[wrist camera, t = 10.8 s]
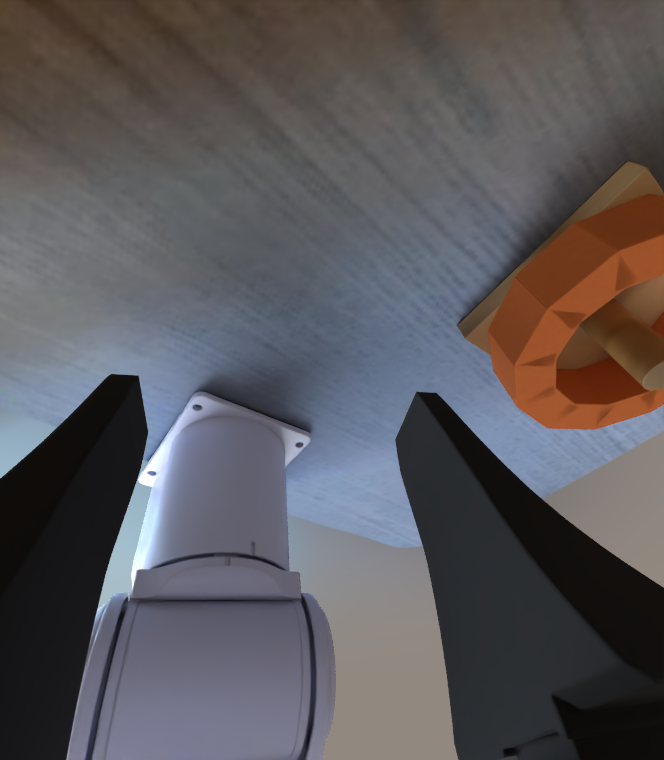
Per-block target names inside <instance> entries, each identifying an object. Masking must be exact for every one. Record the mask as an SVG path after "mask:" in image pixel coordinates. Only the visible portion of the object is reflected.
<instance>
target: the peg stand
mask: <svg viewBox="0 0 664 760" xmlns="http://www.w3.org/2000/svg"><path fill="white" fill-rule="evenodd" d="M648 194H653V195H659V196H664V191H663V190H662V188H661V187H660V185H659V184H658V183H657V181H656V180H655V178H654V177H653V175H652V174H651V172H650V171H649V169H648V168H647V167H644V166H642V165H639V164H636V163H633V162H631V161H627V162H626V163H625V164H624V165H623V166H622V167H621V168H620V169H619V170H618V171H617V172H616V173H615V174H614V175H613V176H612V177H611V178H610V179H608V180H607V181H606V182H605V183H604V184H603V185H602V186H601V187H600V188H599V189H598V190H597V191H596V192H595V193H594V194H593V195H592V196H591V197H590V198H589V199H588V200H587V201H586V202H585V203H584V204H583V205H582V206H581V207H579V208H578V209H577V210H576V211H575V212H574V213H573V214H572V215H571V216H570V217H569V218H568V219H567V220H566V221H565V222H564V223H563V224H562V225H561V226H560V227H559V228H558V229H557V230H556V231H555V232H554V233H553V234H552V235H551V236H549V237H548V238H547V239H546V240H545V241H544V242H543V243H542V244H541V245H540V246H539V247H538V248H537V249H536V250H535V251H534V252H533V253H532V254H531V255H530V256H529V257H528V258H527V259H526V260H525V261H524V262H523V263H522V264H521V265H519V266H518V267H517V268H516V269H515V270H514V271H513V272H512V273H511V274H510V275H509V276H508V277H507V278H506V279H505V280H504V281H503V282H502V283H501V284H500V285H499V286H498V287H497V288H496V289H495V290H494V291H493V292H492V293H491V294H489V295H488V296H487V297H486V298H485V299H484V300H483V301H482V302H481V303H480V304H479V305H478V306H477V307H476V308H475V309H474V310H473V311H472V312H471V313H470V314H469V315H468V316H467V317H466V318H465V319H464V320H463V321H462V322H461V323H459V324H458V325H457V327H458V328H459V330H460V331H461V333H462V335H463V336H464V338H465V339H467V340H468V341H470V342H471V343H473V344H474V345H476V346H477V347H479V348H480V349H482V350H483V351H485V352H486V353H488V354H489V355H491V348H490V340H489V332H488V331H489V328H490V326H491V324H492V322H493V320H494V318H495V316H496V314H497V312H498V310H499V307H500V305H501V303H502V301H503V299H504V297H505V295H506V293H507V291H508V289H509V287H510V285H511V283H512V281H513V279H514V277H515V276H516V274H518V273H519V272H520V271H521V270H522V269H523V268H524V267H525V266H527V265H528V264H529V263H530V262H531V261H532V260H533V259H534V258H535V257H537V256H538V255H539V254H540V253H541V252H542V251H543V250H544V249H546V248H547V247H548V246H549V245H550V244H551V243H552V242H553V241H554V240H556V239H557V238H558V237H559V236H560V235H561V234H562V233H563V232H565V231H566V230H567V229H568V228H569V227H570V226H571V225H572V224H574V223H576V222H578V221H581V220H583V219H586V218H588V217H591V216H593V215H596V214H598V213H601V212H604V211H606V210H609V209H611V208H614V207H616V206H619V205H621V204H624V203H627V202H629V201H632V200H634V199H637V198H639V197H642V196H644V195H648ZM663 313H664V275H661V276H658V277H655V278H653V279H650V280H647V281H644V282H641V283H639V284H636V285H633V286H630V287H628V288H626V289H624V290H623V291H622V292H620V293H619V294H618V295H617V296H615V297H614V298H613V299H611V300H610V301H609V302H607V303H606V304H605V305H603V306H602V307H601V308H599V309H598V310H597V311H596V312H594V313H593V314H592V315H590V316H589V317H588V318H586V319H585V320H584V321H582V322H581V323H580V325H579V326H578V328H577V329H576V331H575V332H574V334H573V335H572V337H571V338H570V340H569V341H568V343H567V344H566V346H565V347H564V349H563V350H562V352H561V353H560V355H559V356H558V358H557V365H556V369H573V370H576V369H579V368H582V367H585V366H588V365H591V364H594V363H597V362H600V361H603V360H606V359H609V358H613V359H614V360H615V361H617V362H618V363H619V364H620V365H621V366H622V367H623V368H624V369H625V370H626V371H627V372H628V373H629V374H630V375H631V376H632V377H633V378H634V379H635V380H636V381H637V382H639V383H640V384H641V385H642V386H643V387H644V388H645V389H647V390H660V389H663V388H664V337H663V336H662V335H660V334H659V333H658V332H656V331H655V330H654V329H653V328H652V326H653V325H654V324H655V323H656V321H657V320H658V319H659V318H660V316H661V315H662V314H663Z"/></svg>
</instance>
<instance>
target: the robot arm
mask: <svg viewBox="0 0 664 760" xmlns="http://www.w3.org/2000/svg"><path fill="white" fill-rule="evenodd" d="M195 404H198V405H201V406H196V405H195ZM147 435H148V428H147V423H146V417H145V411H144V405H143V399H142V394H141V388H140V382H139V376H134V375H116V374H111V375H109V376H108V377H107V378H106V379H105V380H104V381H103V382H102V383H101V384H100V385H99V386H98V387H97V388H96V389H95V390H94V391H93V392H92V393H91V394H90V395H89V396H88V397H87V399H86V400H85V401H84V402H83V403H82V404H81V405H80V406H79V407H78V408H77V409H76V410H75V411H74V412H73V413H72V414H71V415H70V416H69V417H68V418H67V419H66V420H65V421H64V422H63V423H61V424H60V425H59V426H58V427H57V428H56V429H55V430H54V431H53V432H52V433H51V434H50V435H49V436H48V437H47V438H46V439H45V440H44V441H43V442H42V443H40V444H39V445H38V446H37V447H36V448H35V449H34V450H33V451H32V452H30V453H29V454H28V455H27V456H26V457H25V458H24V459H22V460H21V461H20V462H19V463H18V464H17V465H16V466H14V467H13V468H12V469H11V470H10V471H9V472H8V473H6V474H5V475H4V476H3V477H2V478H0V760H322V757H323V751H324V746H325V742H326V739H327V737H328V734H329V731H330V728H331V724H332V720H333V713H334V705H335V688H336V687H335V686H336V677H335V676H336V674H335V656H334V647H333V640H332V635H331V630H330V627H329V623H328V620H327V617H326V615H325V613H324V612H323V610H322V609H321V607H320V606H319V604H318V602H317V600H316V599H315V598H314V597H313V596H312V595H311V594H308V593H301V586H300V573H299V572H290V571H289V547H288V523H287V497H286V472H285V467H286V466H287V465H288V464H289V463H290V462H291V461H292V460H293V459H294V458H295V457H296V456H297V455H298V454H299V453H300V452H301V451H302V450H303V449H304V448H305V447H306V446H307V445H308V444H309V443H310V441H311V435H310V433H309V432H307V431H304V430H301V429H299V428H296V427H294V426H291V425H289V424H286V423H283V422H281V421H278V420H276V419H273V418H270V417H268V416H265V415H263V414H260V413H258V412H255V411H252V410H250V409H247V408H245V407H242V406H239V405H237V404H234V403H232V402H229V401H227V400H224V399H221V398H219V397H216V396H214V395H211V394H209V393H206V392H196V393H195V394H194V395H193V396H192V398H191V399H190V401H189V402H188V404H187V405H186V407H185V408H184V410H183V411H182V413H181V414H180V416H179V417H178V419H177V420H176V422H175V423H174V425H173V426H172V428H171V429H170V431H169V432H168V434H167V435H166V437H165V438H164V440H163V441H162V442H161V444H160V445H159V447H158V448H157V450H156V451H155V453H154V454H153V456H152V457H151V459H150V460H149V462H148V463H147V465H146V467H145V468H144V469H143V471H142V472H141V474H140V476H139V480H138V481H139V482H140V483H141V484H143V485H146V486H150V487H152V490H151V494H150V498H149V502H148V506H147V510H146V514H145V518H144V522H143V526H142V530H141V534H140V538H139V542H138V546H137V550H136V554H135V558H134V562H133V568H132V584H133V586H132V591H131V595H130V596H129V594H128V593H115V594H114V595H113V596H112V597H111V598H110V600H109V601H108V602H106V603H105V604H104V605H103V606H102V607H100V608H99V609H98V610H97V608H98V603H99V599H100V595H101V591H102V587H103V583H104V578H105V574H106V571H107V567H108V564H109V561H110V557H111V554H112V551H113V548H114V545H115V543H116V540H117V536H118V534H119V531H120V528H121V525H122V522H123V519H124V516H125V513H126V511H127V508H128V505H129V502H130V499H131V496H132V493H133V490H134V487H135V484H136V481H137V478H138V475H139V472H140V469H141V464H142V460H143V455H144V450H145V445H146V440H147ZM395 440H396V447H397V454H398V460H399V466H400V471H401V475H402V479H403V482H404V485H405V489H406V492H407V495H408V499H409V502H410V505H411V509H412V512H413V515H414V518H415V521H416V525H417V528H418V531H419V534H420V538H421V541H422V544H423V548H424V552H425V555H426V559H427V563H428V568H429V573H430V578H431V582H432V588H433V593H434V598H435V604H436V609H437V615H438V621H439V626H440V632H441V638H442V645H443V651H444V659H445V666H446V671H447V672H446V673H447V679H448V688H449V697H450V706H451V714H452V723H453V734H454V744H455V747H456V752H457V756H458V759H459V760H664V588H663V587H662V586H660V585H659V584H657V583H655V582H654V581H652V580H651V579H649V578H648V577H646V576H645V575H643V574H642V573H640V572H639V571H637V570H636V569H634V568H633V567H631V566H630V565H628V564H627V563H625V562H624V561H622V560H621V559H619V558H618V557H616V556H615V555H614V554H612V553H611V552H609V551H608V550H606V549H605V548H603V547H602V546H600V545H599V544H598V543H597V542H595V541H594V540H593V539H591V538H590V537H589V536H587V535H586V534H584V533H583V532H582V531H581V530H579V529H578V528H577V527H575V526H574V525H573V524H571V523H570V522H569V521H568V520H566V519H565V518H564V517H563V516H561V515H560V514H559V513H558V512H557V511H555V510H554V509H553V508H552V507H551V506H549V505H548V504H547V503H546V502H544V501H543V500H542V499H541V498H540V497H539V496H538V495H536V494H535V493H534V492H533V491H532V490H531V489H530V488H529V487H527V486H526V485H525V484H524V483H523V482H522V481H521V480H520V479H519V478H518V477H517V476H516V475H515V474H514V473H513V472H512V471H511V470H510V469H508V468H507V467H506V466H505V465H504V464H503V463H502V462H501V461H500V460H499V459H498V458H497V457H496V456H495V455H494V454H493V453H492V452H491V450H490V449H489V448H488V447H487V446H486V445H485V444H484V443H483V442H482V441H481V440H480V439H479V438H478V437H477V436H476V435H475V434H474V433H473V431H472V430H471V429H470V428H469V427H468V426H467V425H466V424H465V423H464V422H463V421H462V419H461V418H460V417H459V416H458V415H457V414H456V413H455V412H454V411H453V410H452V409H451V407H450V406H449V405H448V404H447V403H446V402H445V401H444V400H443V399H442V398H441V397H440V396H439V395H438V394H437V393H426V392H416V394H415V396H414V399H413V401H412V403H411V405H410V408H409V410H408V412H407V414H406V417H405V419H404V421H403V424H402V426H401V428H400V430H399V433H398V435H397V437H396V439H395ZM298 442H301V443H298Z"/></svg>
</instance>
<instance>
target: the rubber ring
mask: <svg viewBox="0 0 664 760" xmlns="http://www.w3.org/2000/svg"><path fill="white" fill-rule="evenodd" d="M661 275H664V196H659V195H653V194H648V195H644V196H642V197H639V198H637V199H634V200H632V201H629V202H627V203H624V204H621V205H619V206H616V207H614V208H611V209H609V210H606V211H604V212H601V213H598V214H596V215H593V216H591V217H588V218H586V219H583V220H581V221H578V222H576V223H574V224H572V225H571V226H570V227H569V228H568V229H567V230H566V231H565V232H563V233H562V234H561V235H560V236H559V237H558V238H557V239H556V240H554V241H553V242H552V243H551V244H550V245H549V246H548V247H547V248H546V249H544V250H543V251H542V252H541V253H540V254H539V255H538V256H537V257H535V258H534V259H533V260H532V261H531V262H530V263H529V264H528V265H527V266H525V267H524V268H523V269H522V270H521V271H520V272H519V273H518V274H516V276H515V277H514V279H513V281H512V283H511V285H510V287H509V289H508V291H507V293H506V295H505V297H504V299H503V301H502V303H501V305H500V307H499V310H498V312H497V314H496V316H495V318H494V320H493V322H492V324H491V326H490V328H489V331H488V332H489V340H490V348H491V356H492V364H493V371H494V373H495V374H496V376H497V377H498V379H499V380H500V382H501V383H502V385H503V386H504V388H505V389H506V391H507V392H508V394H509V395H510V397H511V398H512V400H513V401H514V403H515V404H516V406H517V407H518V408H519V409H521V410H522V411H523V412H525V413H526V414H528V415H529V416H530V417H532V418H533V419H535V420H536V421H538V422H539V423H540V424H542V425H543V426H545V427H546V428H552V429H598V428H601V427H605V426H608V425H611V424H614V423H617V422H621V421H624V420H627V419H630V418H633V417H637V416H640V415H643V414H646V413H649V412H651V411H653V410H655V409H657V408H658V407H660V406H662V405H663V404H664V388H663V389H660V390H647V389H645V388H644V387H643V386H642V385H641V384H640V383H639V382H637V381H636V380H635V379H634V378H633V377H632V376H631V375H630V374H629V373H628V372H627V371H626V370H625V369H624V368H623V367H622V366H621V365H620V364H619V363H618V362H617V361H615V360H614V359H613V358H609V359H606V360H603V361H600V362H597V363H594V364H591V365H588V366H585V367H582V368H579V369H576V370H573V369H556V365H557V358H558V356H559V355H560V353H561V352H562V350H563V349H564V347H565V346H566V344H567V343H568V341H569V340H570V338H571V337H572V335H573V334H574V332H575V331H576V329H577V328H578V326H579V325H580V323H581V322H582V321H584V320H585V319H586V318H588V317H589V316H590V315H592V314H593V313H594V312H596V311H597V310H598V309H599V308H601V307H602V306H603V305H605V304H606V303H607V302H609V301H610V300H611V299H613V298H614V297H615V296H617V295H618V294H619V293H620V292H622V291H623V290H624V289H626V288H628V287H630V286H633V285H636V284H639V283H641V282H644V281H647V280H650V279H653V278H655V277H658V276H661ZM652 328H653V329H654V330H655V331H656V332H658V333H659V334H660V335H662V336H663V337H664V313H663V314H662V315H661V316H660V318H659V319H658V320H657V321H656V323H655V324H654V325H653V326H652Z"/></svg>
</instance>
